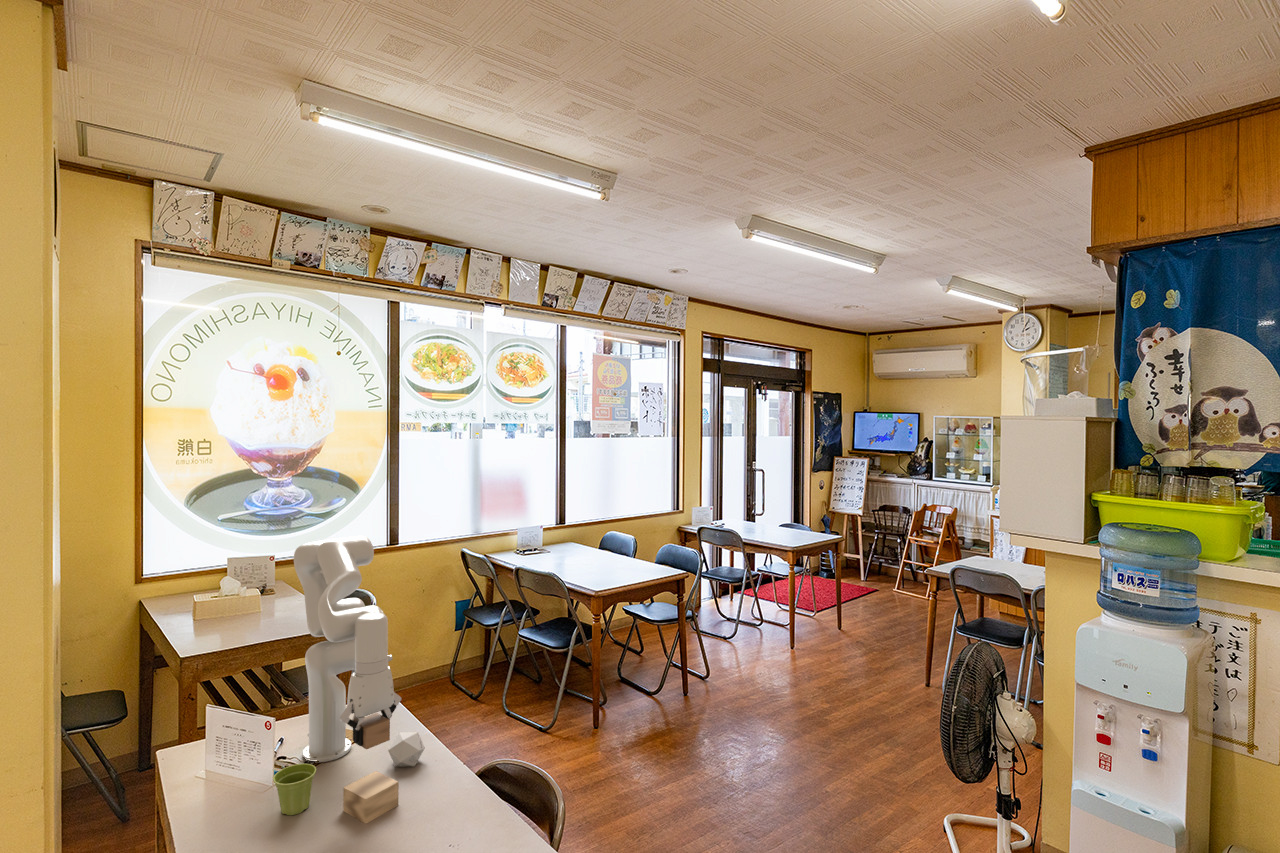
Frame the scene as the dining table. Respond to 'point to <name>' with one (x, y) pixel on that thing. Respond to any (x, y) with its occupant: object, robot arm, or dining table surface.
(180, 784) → the dining table surface
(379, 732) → the walnut block
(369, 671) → the robot arm
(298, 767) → the plant pot
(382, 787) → the oak base
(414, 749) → the die
